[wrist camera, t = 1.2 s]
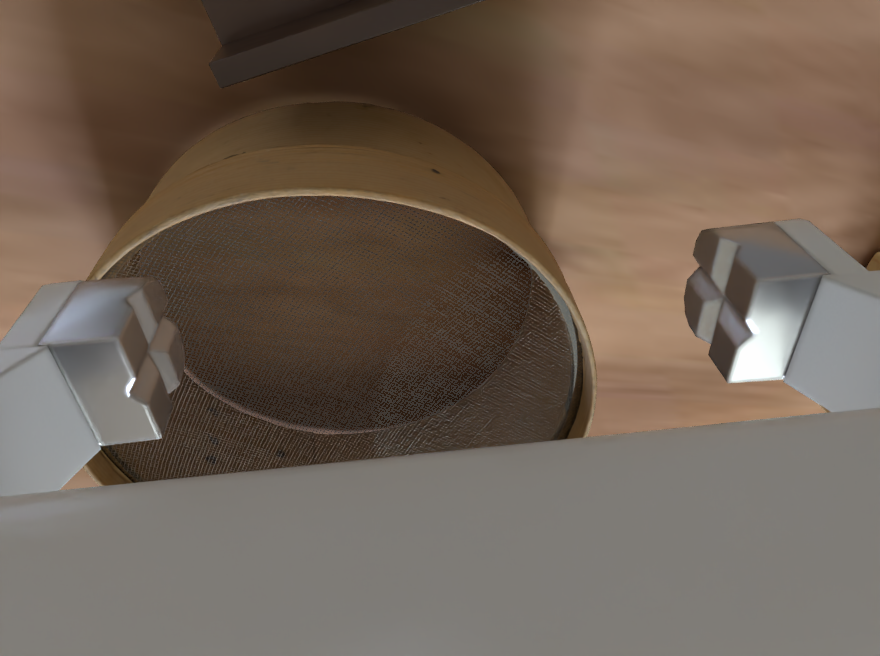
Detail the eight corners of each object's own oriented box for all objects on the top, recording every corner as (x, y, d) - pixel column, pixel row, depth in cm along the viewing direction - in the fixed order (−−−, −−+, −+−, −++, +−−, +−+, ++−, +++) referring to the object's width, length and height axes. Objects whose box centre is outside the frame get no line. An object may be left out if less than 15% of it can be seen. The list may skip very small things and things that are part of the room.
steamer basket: (431, 477, 50) (446, 615, 41) (86, 378, 41) (8, 526, 32) (626, 213, 38) (709, 325, 29) (198, -4, 29) (124, 59, 20)
